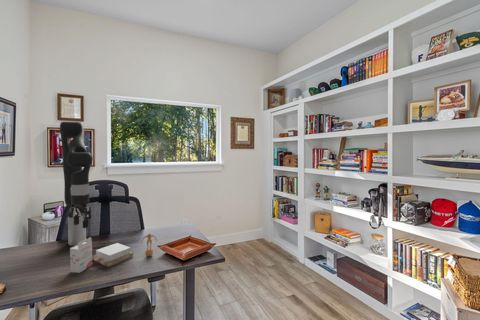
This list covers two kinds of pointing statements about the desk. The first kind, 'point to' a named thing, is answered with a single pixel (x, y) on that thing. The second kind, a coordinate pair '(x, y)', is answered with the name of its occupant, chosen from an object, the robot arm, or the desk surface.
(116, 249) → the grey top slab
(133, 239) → the desk surface
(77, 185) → the robot arm
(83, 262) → the ink cartridge box
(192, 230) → the desk surface
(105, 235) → the desk surface
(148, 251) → the figurine
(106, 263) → the birch base slab
